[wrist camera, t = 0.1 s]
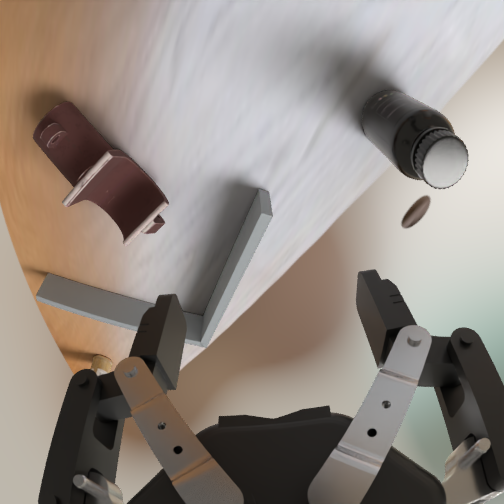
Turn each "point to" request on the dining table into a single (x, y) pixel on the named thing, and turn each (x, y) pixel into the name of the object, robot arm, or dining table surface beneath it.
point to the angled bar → (132, 310)
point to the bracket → (100, 172)
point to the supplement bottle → (415, 138)
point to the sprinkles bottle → (101, 365)
